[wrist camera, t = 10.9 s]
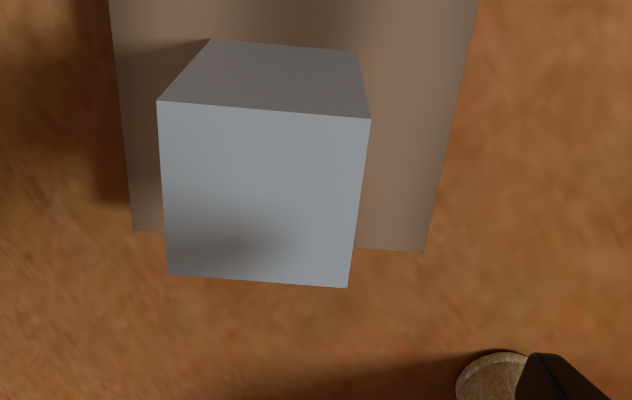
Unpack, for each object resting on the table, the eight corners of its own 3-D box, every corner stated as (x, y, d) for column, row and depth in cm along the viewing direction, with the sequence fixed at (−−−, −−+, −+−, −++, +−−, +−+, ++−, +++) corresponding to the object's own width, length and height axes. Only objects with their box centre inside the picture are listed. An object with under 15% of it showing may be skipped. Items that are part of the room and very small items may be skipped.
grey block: (212, 169, 18) (167, 274, 13) (211, 38, 16) (156, 100, 11) (340, 180, 18) (346, 288, 13) (356, 51, 16) (371, 119, 11)
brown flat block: (156, 192, 22) (133, 230, 20) (134, -71, 17) (100, -68, 15) (411, 212, 22) (423, 252, 20) (462, -42, 18) (486, -33, 15)
